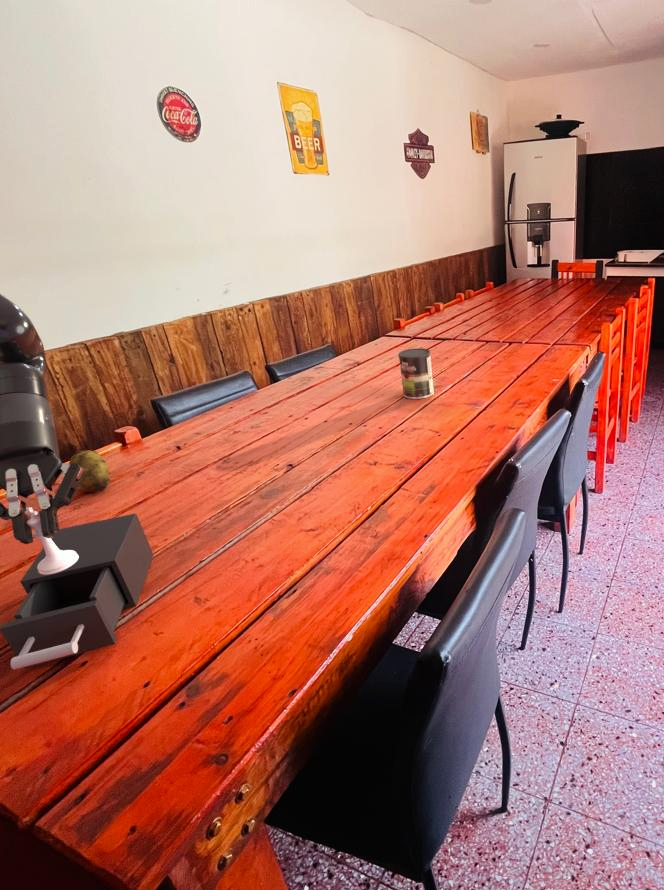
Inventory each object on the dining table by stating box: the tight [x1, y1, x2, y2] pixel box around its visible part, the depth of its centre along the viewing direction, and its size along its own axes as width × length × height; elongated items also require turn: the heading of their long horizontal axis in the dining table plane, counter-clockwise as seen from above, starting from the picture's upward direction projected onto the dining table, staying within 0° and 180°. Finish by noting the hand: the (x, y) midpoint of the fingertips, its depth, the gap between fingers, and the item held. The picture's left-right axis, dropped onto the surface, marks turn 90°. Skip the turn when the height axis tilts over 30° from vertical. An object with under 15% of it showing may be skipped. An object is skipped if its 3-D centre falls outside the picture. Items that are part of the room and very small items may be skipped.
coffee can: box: [397, 347, 435, 400], centre depth 167 cm, size 10×10×14 cm
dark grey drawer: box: [0, 565, 126, 670], centre depth 77 cm, size 19×11×8 cm, turn 20°
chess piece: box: [25, 506, 79, 575], centre depth 74 cm, size 5×5×10 cm
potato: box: [68, 449, 111, 493], centre depth 122 cm, size 8×13×8 cm, turn 28°
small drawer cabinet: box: [20, 513, 154, 610], centre depth 87 cm, size 15×13×10 cm
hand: (37, 539), depth 72 cm, fingers closed on chess piece
